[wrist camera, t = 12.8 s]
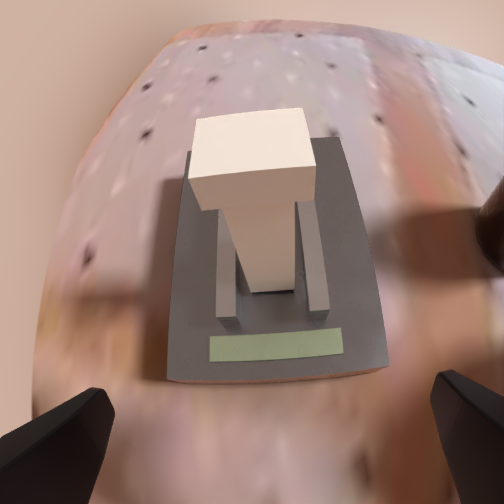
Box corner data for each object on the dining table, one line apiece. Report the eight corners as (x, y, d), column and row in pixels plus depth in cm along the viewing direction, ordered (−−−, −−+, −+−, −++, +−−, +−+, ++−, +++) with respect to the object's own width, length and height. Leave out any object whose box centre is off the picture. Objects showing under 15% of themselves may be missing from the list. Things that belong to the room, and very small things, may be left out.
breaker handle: (305, 291, 17) (316, 165, 8) (239, 296, 17) (187, 178, 9) (301, 246, 18) (302, 107, 10) (239, 251, 18) (196, 119, 10)
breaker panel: (375, 371, 17) (400, 360, 13) (184, 383, 18) (153, 375, 14) (335, 162, 25) (340, 119, 21) (197, 175, 26) (181, 135, 22)
